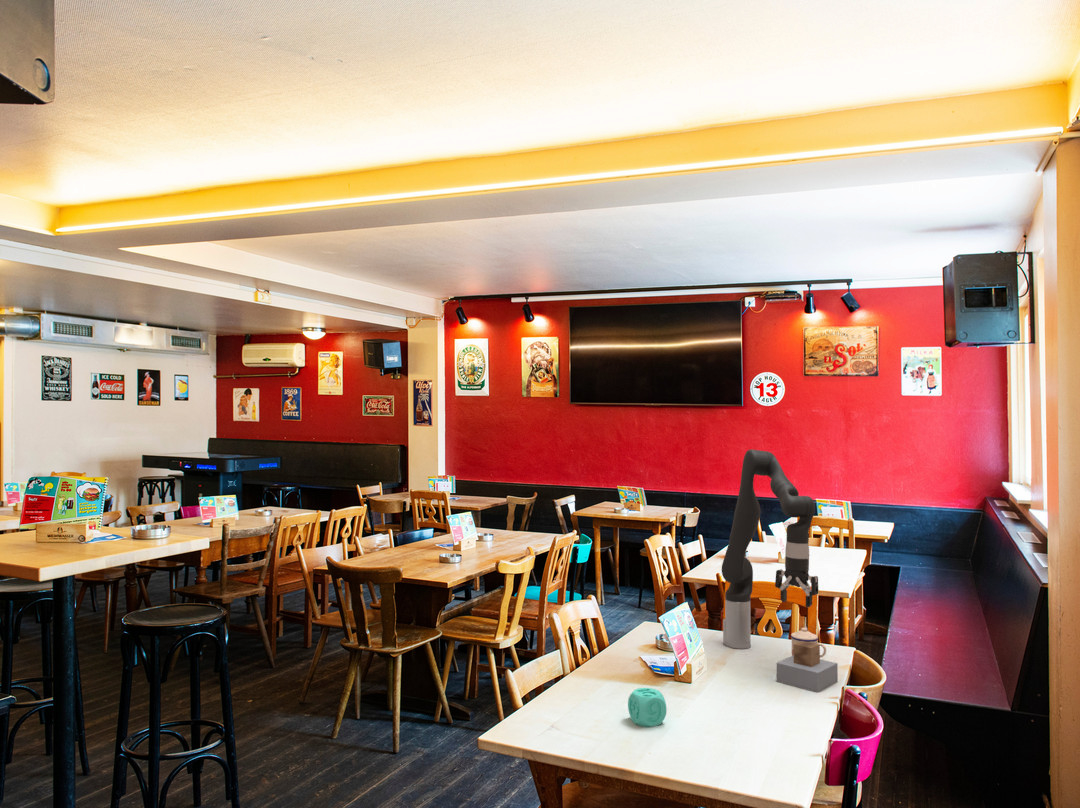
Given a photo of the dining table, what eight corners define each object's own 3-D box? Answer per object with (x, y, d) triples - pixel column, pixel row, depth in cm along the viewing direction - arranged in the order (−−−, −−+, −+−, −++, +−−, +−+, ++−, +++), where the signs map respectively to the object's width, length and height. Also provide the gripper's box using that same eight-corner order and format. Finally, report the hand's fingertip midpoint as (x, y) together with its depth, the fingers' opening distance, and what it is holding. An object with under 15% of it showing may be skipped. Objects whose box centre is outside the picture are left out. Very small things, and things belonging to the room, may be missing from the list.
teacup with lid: (787, 662, 260) (787, 628, 261) (796, 656, 267) (795, 623, 268) (822, 668, 253) (821, 634, 253) (830, 662, 260) (829, 629, 260)
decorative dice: (652, 714, 211) (652, 686, 212) (666, 724, 204) (666, 695, 204) (627, 718, 209) (627, 689, 209) (641, 728, 201) (641, 699, 201)
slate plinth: (776, 681, 240) (776, 662, 240) (796, 671, 250) (796, 653, 250) (818, 692, 230) (818, 672, 230) (837, 681, 240) (837, 663, 240)
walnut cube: (793, 662, 240) (793, 644, 240) (802, 659, 244) (802, 640, 244) (811, 667, 236) (811, 648, 236) (819, 663, 240) (819, 644, 240)
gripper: (771, 553, 249) (770, 601, 249) (812, 560, 239) (810, 610, 239) (783, 551, 254) (782, 598, 254) (822, 557, 244) (821, 606, 244)
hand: (796, 604), depth 246 cm, fingers open, 8 cm apart
